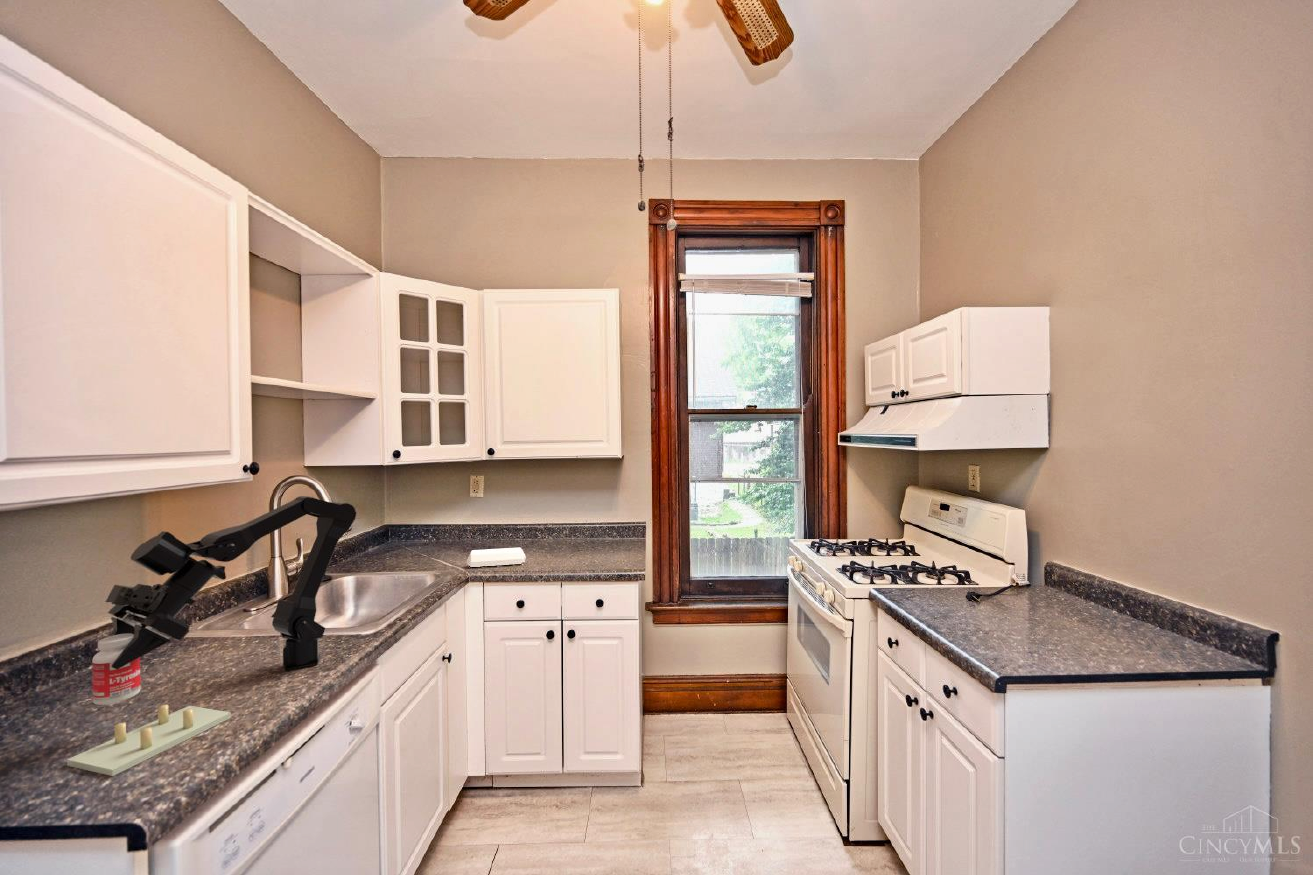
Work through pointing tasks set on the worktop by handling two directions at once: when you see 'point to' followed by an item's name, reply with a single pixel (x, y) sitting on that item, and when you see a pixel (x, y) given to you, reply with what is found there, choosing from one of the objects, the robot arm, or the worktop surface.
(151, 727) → the standoff plate
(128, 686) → the pill bottle
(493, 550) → the white rounded log
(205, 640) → the worktop surface
